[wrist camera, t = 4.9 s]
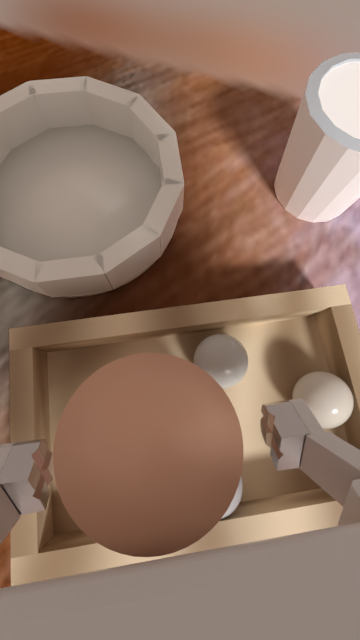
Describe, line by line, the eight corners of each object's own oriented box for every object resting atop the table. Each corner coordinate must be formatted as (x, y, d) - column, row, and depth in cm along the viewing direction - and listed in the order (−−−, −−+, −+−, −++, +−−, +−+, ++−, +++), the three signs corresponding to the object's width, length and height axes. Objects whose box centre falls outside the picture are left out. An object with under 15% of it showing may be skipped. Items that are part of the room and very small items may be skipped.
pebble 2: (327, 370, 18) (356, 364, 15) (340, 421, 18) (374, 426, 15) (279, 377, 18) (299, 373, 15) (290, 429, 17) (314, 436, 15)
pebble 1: (191, 335, 15) (197, 330, 18) (189, 393, 16) (195, 379, 19) (251, 338, 15) (247, 332, 18) (249, 398, 15) (245, 382, 18)
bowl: (165, 112, 24) (164, 69, 21) (194, 283, 20) (198, 262, 17) (-24, 129, 23) (-54, 87, 20) (-28, 311, 19) (-66, 294, 16)
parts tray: (322, 299, 20) (345, 284, 18) (376, 497, 17) (413, 515, 15) (31, 338, 19) (8, 328, 16) (37, 557, 16) (11, 589, 14)
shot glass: (287, 136, 24) (334, 31, 17) (370, 173, 23) (453, 80, 16) (250, 204, 22) (285, 118, 15) (338, 246, 21) (416, 175, 15)
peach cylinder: (196, 372, 18) (225, 341, 8) (210, 458, 17) (261, 537, 7) (116, 383, 18) (49, 365, 8) (124, 472, 17) (57, 574, 7)
